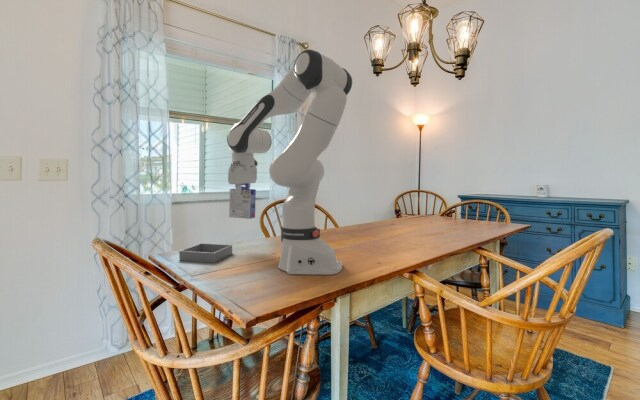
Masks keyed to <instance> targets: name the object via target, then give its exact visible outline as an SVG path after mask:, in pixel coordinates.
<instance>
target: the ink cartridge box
mask: <svg viewBox="0 0 640 400" xmlns="http://www.w3.org/2000/svg"><path fill="white" fill-rule="evenodd" d="M245 185H246V187H245ZM247 188H248V184H241V190H242V195H237V190H236V188H229V205H228V206H229V207H228V208H229V211H228V217H229V218H235V219H246V220H247V219H248V220H251V219H255V218H256V197H257V196H256V194H257V192H256V191H257V190H256V189H255V188H254V189H253V188H250V189H247Z"/></svg>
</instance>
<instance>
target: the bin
mask: <svg viewBox="0 0 640 400" xmlns="http://www.w3.org/2000/svg"><path fill="white" fill-rule="evenodd" d="M178 252H179V253H178V254H179V261H185V262H186V261H187V262H198V263H200V262H201V263H210V264H211V263H212V264H214V263H216V262H219V261H220V260H222V259H224V258H226V257H228V256H230V255H232V254H233V244H221V243H219V244H218V243H203V242H200V243H197V244H195V245H192V246H189V247H187V248H184V249H181V250H179V251H178Z"/></svg>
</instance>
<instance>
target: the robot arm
mask: <svg viewBox="0 0 640 400" xmlns="http://www.w3.org/2000/svg"><path fill="white" fill-rule="evenodd" d="M352 86H353V78H352V76H351V74H350V73H349V71H348V70H346V68H344V67H341V65H340V64H338V63H336V62H335V61H334V60H333V59H332V58H329V57H328V56H326V55H324V54H321V53H320V52H319V51H316V50H313V49H304V50H302V52H300V53H299V54H298V56H297V57H296V58H295V61H294V64H293V66H292V67H291V68H290V69H289V71H288V72H286V74H285V75H284V77H283V78H282V80H281V81H280V82H279V83H278V84H277V86H276V87H275V88H274V89H272V90H271V91H270V92H269V93H268V94H265V95H264V96H263V97H261V98H260V99H259V100H258V101H257V102H256V103H255V104H254V105H253V106H252V108H251V109H250V110H248V112H247V113H246V115H245V116H244V117H243V118H242V119H241V120H240V121H238V122H236V123H234V124H233V127H231V129H230V130H229V131H228V133H227V136H226V141H227V146H228V147H229V149H231V163H230V166H229V168H228V173H227V174H228V175H227V176H228V177H227V182H228V185H234V188H235V189H236V190H237V195H242V190H241V186H242V185H241V184H248V188H247V189H251V184H256V182H257V178H258V174H257V173H258V171H257V170H258V168H257V167H258V165H259V163H258V161H257V159H256V158H255V157H254V154H265V153H267V152H268V151H269V150H270V149H271V146H272V136H271V134H270V133H269V132H268V131H267V130H264V129H263V128H262V129H261V128H259V127H260V126H261V125H262V124H263V122H265V121H266V120H268V119H269V118H272V117H275V116H280V115H290V114H294V113H295V112H297V111H298V110H299V109H300V108H301V107H302V106H303V104H304V103H305V102H306V101H307V99H308V98H309V97H310V95H311V93H312V94H313V97H312V100H311V103H310V105H309V107H308V109H307V111H306V114H305V116H304V117H303V120H302V122H301V124H300V126H299V128H298V131H297V133H296V134H295V136H294V137H293V139H292V140H291V141H290V143H289V144H288V145H287V147H285V149H284V150H283V151H282V152H281V153H280V154H279V155H278V156H276V157H275V158H274V159H272V161H271V163H270V164H269V169H268V170H269V176H270V179H271V180H272V182H273V183H274V184H276V185H277V186H280V187H283V188H284V187H285V188H289V189H288V194H287V196H286V199H285V200H284V201H283V204H282V226H281V229H280V240H281V251H280V257H279V262H278V266H277V268H278V269H279V270H281V271H284V272H286V274H288V275H315V276H316V275H317V276H318V275H323V276H324V275H327V276H328V275H330V276H331V275H332V276H333V275H336V274H338V273H340V272H341V271H342V269H343V263H342V262H341V261H339V260H337V256H336V251H335V249H334V248H333V247H332V246H331V245H330V244H328V243H327V242H326V241H325V240H323V238H321V228H318V227H316V226H315V209H316V207H315V205H316V201H317V200H316V199H317V194H318V191H319V187H320V183H321V181H322V179H323V178H324V176H325V168H324V164H323V163H322V162H321V161H320V160H319V159H318V158H319V157H320V156H321V154H322V153H323V152H324V151H326V150H327V148H328V147H329V145H330V143H331V141H332V139H333V137H334V135H335V133H336V132H337V129H338V126H339V124H340V123H341V120H342V117H343V114H344V111H345V109H346V105H347V102H348V100H347V99H348V97H347V96H348V95H349V93H350V91H351V90H352ZM244 187H246V185H244Z"/></svg>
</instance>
